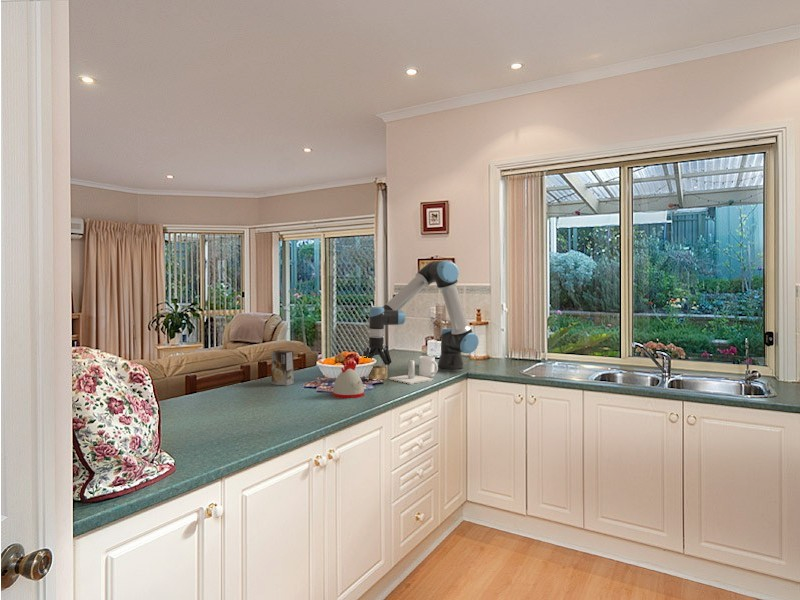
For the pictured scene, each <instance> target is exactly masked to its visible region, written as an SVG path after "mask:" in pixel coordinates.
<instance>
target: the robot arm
mask: <svg viewBox="0 0 800 600" xmlns="http://www.w3.org/2000/svg"><path fill="white" fill-rule="evenodd" d="M459 275H460V272H459V268H458V266H457V264H455V263H454V262H453V261H452V260H451V261H450V260H434V261H431V262H429V263H427V264H425V265H424V266H423V267H422V268H421V269H420V270H419V271H417V273H415V277H414V278H412V279H411V280H410V281H409V282H408V283H406V285H405V286H404V287H403V288H402V289H401V290H399V291H398V292H397V293H396V294H395V295H394V296H393V297H392V298H390V300H389V301H388V302H386V304H384V305H383V306H371V307H370V308H369V312H368V313H369V314H368V317H369V319H368V320H369V328H368V330H369V331H368V333H369V334H368V337H369V338H368V344H369V346H368V347H366V346H365V347H364V349H363V350H364V351H363V354H362V357H363V356H366V357H364V358H367V357H368V358H371V360H372V359H373V357H375V356H379V357H380V359H381V361H382V362H383V364H382V367H387V372H389V366H390V364H392V361H393V360H392V358H391V355H390V352H389V346H388V345H384V342H385V341H384V340H385V339H384V335H385V334H384V333H385V329H384V328H385V326H400V325H404V324H405V322H406V313H405V311H403V310H402V308H403V307H404V306H406V305H407V304H408V303H409V302H410V300H411V299H413V298H415V296H416V295H417V294H419V293H420V292H421V291H422V290H423V289H424V288H426V287H429V286H430V285H431V284H433V283H436V287H437V289H439V290H440V291H441V294H442V296H443V301H444V303H445V307H446V311H447V314H448V317H449V320H450V324H451V328H442V329H441V333H440V339H441V340H440V342H441V343H440V356H439V358H438V362H437V365H438V368H439V367H440V369H444V368H445V370H458V369H459V368H461V369H463V368H464V362H463V358H462V354H461V353H463V354H472V353H474V352H475V351H476V350H477V349H478V346H479V341H480V340H479V339H480V338H479V337H478V335H477V334H476V333H474V332H473V329H472V326H470V325H468V322H467V317H466V314H465V312H464V308H463V305H462V301H461V297H460V294H459V292H458V291H459V290H458V288H457V284H458V282H459V281H458V278H459V277H458V276H459ZM459 370H460V369H459Z"/></svg>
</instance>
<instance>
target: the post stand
mask: <svg viewBox="0 0 800 600" xmlns="http://www.w3.org/2000/svg"><path fill="white" fill-rule="evenodd" d="M415 363H416V362H415V360H413V359H412V360H411V359H409V360H408V363H407V364H408V366H407V368H408V369H407V370H408V371H407V373H408V374H404V375H398V376H391V377H389V378H388V379H389V381H393V380H394V382H397V381H398V383H402V382H403V383H402V384H406V383H407V384H406V385H410V384H411V385H415V384H414V383H417V384H421V383H420V382H423V383H427V382H426V381H428V382H433V381H434V378H433V377H423V376H419V374H415V373H416V372H415ZM432 380H433V381H432Z"/></svg>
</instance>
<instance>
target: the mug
mask: <svg viewBox="0 0 800 600" xmlns="http://www.w3.org/2000/svg"><path fill="white" fill-rule="evenodd" d="M435 358H436V357H435V356H432V355H421V356H419V358H418V359H419V361H418V376H423V377H428V378H433V376H434V377H435V375H436V374H437V373H438V370H439V367H438V362H437V361H436V359H435Z"/></svg>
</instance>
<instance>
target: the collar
mask: <svg viewBox="0 0 800 600" xmlns="http://www.w3.org/2000/svg"><path fill="white" fill-rule="evenodd" d="M372 366H373V368H372V370H371V372H370V374H369V376H368V378H369V379H384V380H387V379H388V371H387V367H383V365H372ZM369 379H368V380H369Z"/></svg>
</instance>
